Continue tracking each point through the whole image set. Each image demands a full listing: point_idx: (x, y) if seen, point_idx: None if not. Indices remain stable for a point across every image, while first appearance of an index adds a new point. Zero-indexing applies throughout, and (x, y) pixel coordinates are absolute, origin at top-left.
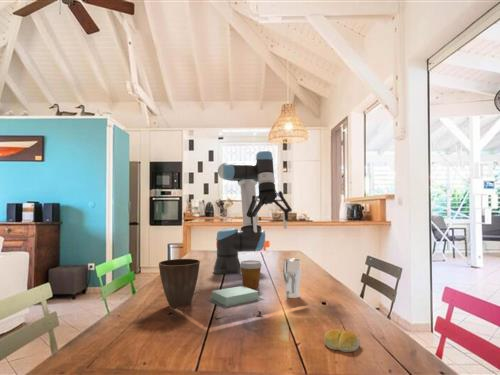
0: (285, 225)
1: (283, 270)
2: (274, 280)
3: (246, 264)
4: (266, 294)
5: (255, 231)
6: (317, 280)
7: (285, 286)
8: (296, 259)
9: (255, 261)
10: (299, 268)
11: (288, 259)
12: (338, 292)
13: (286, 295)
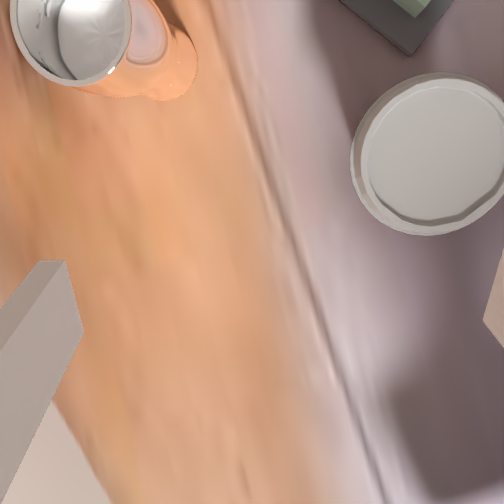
0: (28, 286)
1: (152, 3)
2: (325, 370)
3: (452, 77)
4: (297, 92)
5: (501, 261)
6: (134, 409)
7: (175, 38)
8: (55, 77)
9: (412, 221)
10: (41, 8)
11: (111, 67)
12: (6, 226)
13: (177, 30)
